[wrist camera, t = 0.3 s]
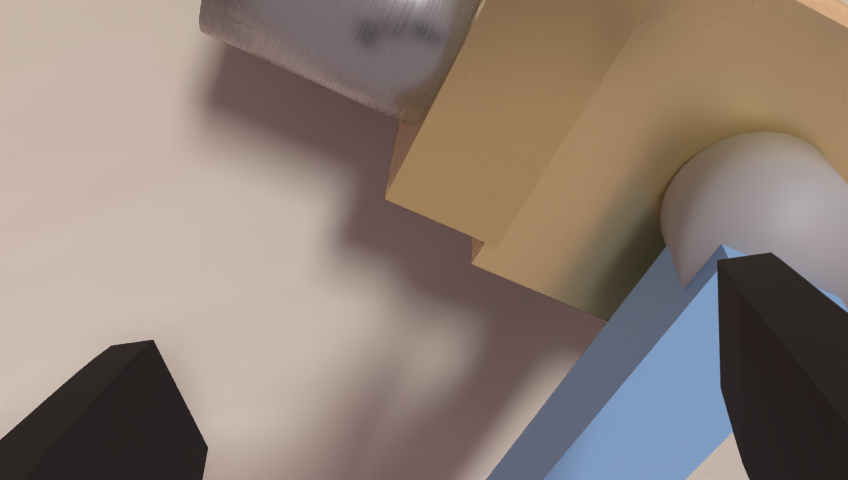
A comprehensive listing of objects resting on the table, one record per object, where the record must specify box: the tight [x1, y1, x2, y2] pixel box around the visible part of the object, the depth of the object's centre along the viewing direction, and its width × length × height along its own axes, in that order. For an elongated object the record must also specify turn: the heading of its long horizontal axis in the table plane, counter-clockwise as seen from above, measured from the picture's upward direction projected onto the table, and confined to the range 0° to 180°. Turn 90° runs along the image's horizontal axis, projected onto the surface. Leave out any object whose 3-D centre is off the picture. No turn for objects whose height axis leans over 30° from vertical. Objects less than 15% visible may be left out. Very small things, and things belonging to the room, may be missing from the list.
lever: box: [486, 132, 848, 480], centre depth 17 cm, size 3×14×2 cm, turn 155°
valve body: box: [199, 0, 848, 321], centre depth 17 cm, size 21×7×5 cm, turn 65°
